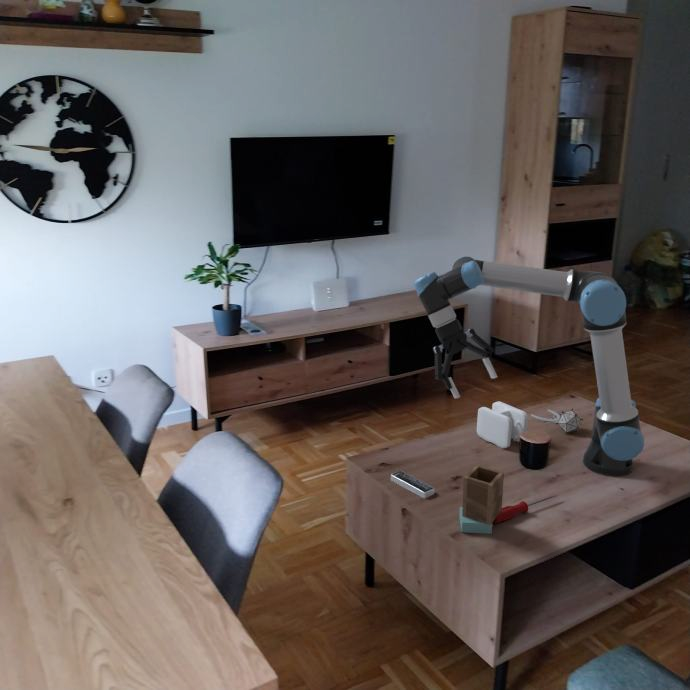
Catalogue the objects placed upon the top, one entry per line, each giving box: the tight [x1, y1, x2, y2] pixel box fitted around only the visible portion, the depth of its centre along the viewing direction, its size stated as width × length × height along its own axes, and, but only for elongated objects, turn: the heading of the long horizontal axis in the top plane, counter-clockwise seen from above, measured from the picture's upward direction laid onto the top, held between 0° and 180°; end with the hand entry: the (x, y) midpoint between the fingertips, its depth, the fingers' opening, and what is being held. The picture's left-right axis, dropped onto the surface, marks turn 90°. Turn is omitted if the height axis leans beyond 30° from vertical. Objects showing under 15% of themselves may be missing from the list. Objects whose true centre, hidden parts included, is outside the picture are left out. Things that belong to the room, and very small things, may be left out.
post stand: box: [458, 506, 493, 535], centre depth 193 cm, size 8×8×9 cm
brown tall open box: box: [462, 464, 505, 525], centre depth 191 cm, size 8×8×12 cm
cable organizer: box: [476, 401, 529, 449], centre depth 244 cm, size 15×11×12 cm
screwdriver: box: [492, 494, 559, 524], centre depth 200 cm, size 4×25×4 cm, turn 121°
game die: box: [554, 408, 584, 435], centre depth 251 cm, size 9×8×10 cm
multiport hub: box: [390, 470, 435, 499], centre depth 213 cm, size 4×14×2 cm, turn 41°
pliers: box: [530, 408, 560, 423], centre depth 262 cm, size 10×2×15 cm
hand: (476, 387), depth 211 cm, fingers open, 13 cm apart
